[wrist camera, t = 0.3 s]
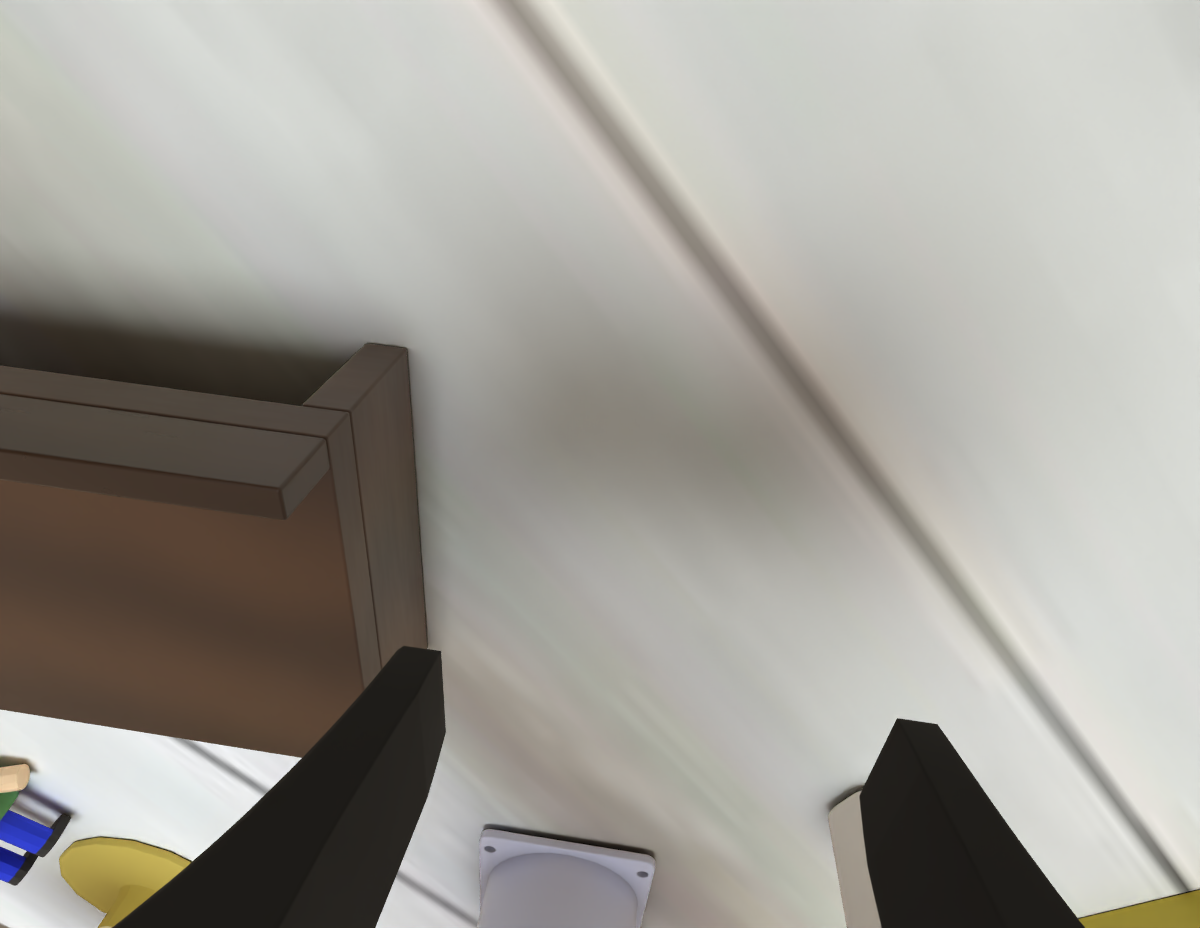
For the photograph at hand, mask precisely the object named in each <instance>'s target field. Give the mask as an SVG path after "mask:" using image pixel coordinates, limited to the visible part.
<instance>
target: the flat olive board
mask: <svg viewBox="0 0 1200 928" xmlns="http://www.w3.org/2000/svg"><path fill="white" fill-rule="evenodd" d="M1079 921H1080V922H1081V923H1082V924H1083V926H1084V927H1085V928H1200V890H1198V891H1193V892H1189V893H1185V894H1181V895H1177V896H1172V897H1168V898H1164V899H1160V900H1156V901H1151V902H1147V903H1143V904H1139V905H1135V906H1131V907H1126V908H1122V909H1118V910H1114V911H1110V912H1105V913H1101V914H1097V915H1093V916H1089V917H1084V918H1080V919H1079Z"/></svg>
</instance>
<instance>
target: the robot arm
mask: <svg viewBox="0 0 1200 928" xmlns="http://www.w3.org/2000/svg"><path fill="white" fill-rule="evenodd" d="M445 733H446V728H445V711H444V694H443V677H442V660H441V651H437V650H430V649H423V648H416V647H409V646H403V647H401V648H400V649H398V650H397V651H396V652H395V654H394V655H393V656H392V657H391V659H390V660H389V661H388V662H387V663H386V665H385V666H384V667H383V668H382V670H381V671H380V672H379V673H378V674H377V676H376V677H375V678H374V679H373V680H372V682H371V683H370V684H369V685H368V686H367V687H366V689H365V690H364V691H363V692H362V693H361V694H360V696H359V697H358V698H357V699H356V700H355V701H354V702H353V703H352V705H351V706H350V707H349V708H348V709H347V710H346V711H345V712H344V714H343V715H342V716H341V717H340V718H339V719H338V720H337V721H336V722H335V724H334V725H333V726H332V727H331V728H330V729H329V730H328V731H327V732H326V733H325V734H324V735H323V736H322V737H321V738H320V740H319V741H318V742H317V743H316V744H315V745H314V746H313V747H312V748H311V749H310V750H309V751H308V752H307V753H306V755H305V756H304V757H303V758H302V759H301V760H300V761H299V762H298V763H297V764H296V765H295V766H294V767H293V768H292V769H291V770H290V771H289V772H288V773H287V774H286V775H285V776H284V777H283V778H282V779H281V780H280V781H279V782H278V783H277V784H276V785H275V786H274V787H273V788H272V789H271V790H270V791H269V792H267V793H266V794H265V795H264V796H263V797H262V798H261V799H260V800H259V801H258V802H257V803H256V804H255V805H254V806H253V807H252V808H251V809H250V810H249V811H248V812H247V813H246V814H245V815H244V816H243V817H242V818H241V819H240V820H238V821H237V822H236V823H235V824H234V825H233V826H232V827H231V828H230V829H229V830H228V831H226V832H225V833H224V834H223V835H222V836H221V837H220V838H219V839H218V840H217V841H215V842H214V843H213V844H212V845H211V846H210V847H209V848H208V849H206V850H205V851H204V852H203V853H202V854H201V855H200V856H198V857H197V858H196V859H195V860H194V861H193V862H191V863H190V864H189V865H188V866H187V867H186V868H184V869H183V870H182V871H181V872H180V873H179V874H178V875H176V876H175V877H174V878H173V879H172V880H170V881H169V882H168V883H167V884H165V885H164V886H163V887H162V888H161V889H159V890H158V891H157V892H156V893H154V894H153V895H152V896H151V897H149V898H148V899H147V900H146V901H145V902H143V903H142V904H141V905H140V906H138V907H137V908H136V909H135V910H133V911H132V912H131V913H130V914H129V915H127V916H126V917H125V918H124V919H122V920H121V921H120V922H119V923H117V924H116V925H115V926H113V927H112V928H375V927H376V924H377V922H378V919H379V917H380V914H381V912H382V909H383V907H384V905H385V902H386V900H387V897H388V895H389V892H390V890H391V887H392V885H393V882H394V880H395V877H396V875H397V872H398V870H399V867H400V865H401V862H402V860H403V857H404V855H405V852H406V850H407V847H408V845H409V842H410V840H411V837H412V835H413V832H414V830H415V827H416V825H417V822H418V820H419V817H420V815H421V812H422V809H423V807H424V804H425V802H426V799H427V797H428V793H429V790H430V786H431V783H432V780H433V776H434V773H435V769H436V766H437V762H438V759H439V755H440V751H441V748H442V744H443V741H444V737H445ZM859 799H860V808H861V818H862V827H863V836H864V844H865V851H866V859H867V866H868V871H869V875H870V880H871V884H872V889H873V893H874V898H875V902H876V906H877V910H878V915H879V919H880V923H881V928H1085V927H1084V926H1083V924H1082V923H1081V922H1080V921H1079V919H1078V918H1077V917H1076V916H1075V914H1074V913H1073V912H1072V910H1071V909H1070V908H1069V906H1068V905H1067V904H1066V903H1065V901H1064V900H1063V899H1062V897H1061V896H1060V895H1059V894H1058V892H1057V891H1056V890H1055V888H1054V887H1053V886H1052V884H1051V883H1050V881H1049V880H1048V879H1047V877H1046V876H1045V875H1044V873H1043V872H1042V871H1041V869H1040V868H1039V867H1038V865H1037V864H1036V863H1035V861H1034V860H1033V859H1032V857H1031V856H1030V855H1029V853H1028V852H1027V850H1026V849H1025V848H1024V846H1023V845H1022V844H1021V842H1020V841H1019V840H1018V838H1017V837H1016V835H1015V834H1014V833H1013V831H1012V830H1011V828H1010V827H1009V826H1008V824H1007V823H1006V822H1005V820H1004V819H1003V817H1002V816H1001V814H1000V813H999V812H998V810H997V809H996V807H995V806H994V805H993V803H992V802H991V800H990V799H989V797H988V796H987V795H986V793H985V792H984V790H983V789H982V787H981V786H980V785H979V783H978V782H977V780H976V779H975V777H974V776H973V774H972V773H971V772H970V770H969V769H968V767H967V766H966V764H965V763H964V761H963V760H962V759H961V757H960V756H959V754H958V753H957V751H956V750H955V749H954V747H953V746H952V744H951V743H950V741H949V740H948V739H947V737H946V736H945V734H944V733H943V731H942V730H941V729H940V727H939V726H938V725H937V724H932V723H925V722H918V721H912V720H905V719H898V718H897V720H896V722H895V724H894V726H893V728H892V730H891V732H890V734H889V736H888V738H887V740H886V742H885V744H884V746H883V748H882V750H881V752H880V754H879V756H878V759H877V761H876V763H875V765H874V767H873V769H872V771H871V773H870V775H869V777H868V779H867V781H866V783H865V785H864V787H863V789H862V791H861V793H860V795H859ZM479 853H480V916H479V920H478V924H477V928H640V927H641V923H642V919H643V915H644V911H645V907H646V903H647V899H648V896H649V892H650V888H651V884H652V880H653V876H654V872H655V859H654V858H653V857H651V856H650V855H646V854H640V853H634V852H628V851H622V850H616V849H610V848H604V847H598V846H591V845H585V844H579V843H573V842H567V841H561V840H555V839H549V838H543V837H536V836H530V835H524V834H518V833H512V832H506V831H500V830H494V829H486V830H484V831H482V833H481V836H480V840H479Z"/></svg>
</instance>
